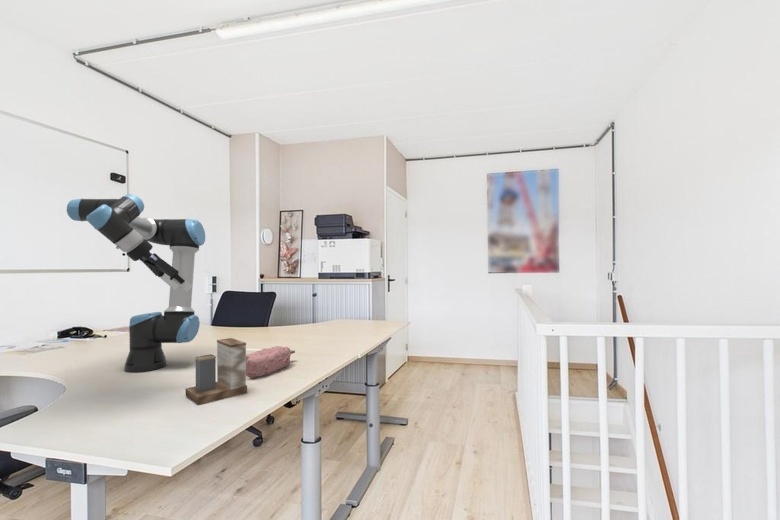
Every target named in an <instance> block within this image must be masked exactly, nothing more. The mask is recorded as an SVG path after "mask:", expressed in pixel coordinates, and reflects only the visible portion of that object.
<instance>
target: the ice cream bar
mask: <svg viewBox="0 0 780 520" xmlns="http://www.w3.org/2000/svg"><path fill="white" fill-rule="evenodd" d="M295 353H296V350H291V349H290V347H287V346H277V345H276V346H271V347H269V348H262V349H261V350H257V351H254V352H251V353H246V377H248V378H250V379H256V378H258V377H261V376H264V375H267V376H268V375H269V374H270V373H272V374H273V373H275V372H277V371H278V370H280V369H282V368H285V367H288V365H290V363H291V355H292V354H295Z"/></svg>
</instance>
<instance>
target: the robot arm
mask: <svg viewBox="0 0 780 520" xmlns="http://www.w3.org/2000/svg"><path fill="white" fill-rule="evenodd" d="M144 210H145V203H144V201H143V200H142V199H141V198H140V197H139V196H137V195H135V194H132V193H131V194H129V193H128V194H125V195H123V196H121V197H120V198H76V199H74V198H73V199H72V200H69V201H68V203H67V205H66V213H67V216H68V217H69V218H70V219H71V220H72V221H76V222H88V223H89V224H90V226H92V228H93V229H94V230H96V231H98V232H99V233H100V234H101V235H103V236H104V237H105V238H106V239H108V240H109V241H110V242H111V243H112V244H113V245H115V246H116V247H115V249H116V250H118V249H120V251H122V252H123V253H126V256H128V257H129V259H131V260H132V261H134V262H137V261H141V262H142V263H143V264H144V265H145V266H146V267H147V268H148V269H149V271H151V272H152V274H154V275H155V277H158V278H160V280H162V281H163V282H164V283H166V284H167V286H169V296H168V297H169V298H168V307H167V308H166V309H165V310H164V311H163V314H162V312H161V311H156V312H148V313H141V314H136V315H133V316H131V317H130V319H129V326H128V328H129V329H128V331H129V332H128V333H129V352H128V355H127V357H126V360H125V364H124V371H125V372H128V373H141V372H142V373H144V372H150V371H155V370H159V369H163V368H164V367H167V359H166V356H165V353H164V349H163V348H162V347H163V346H162V344H182V343H190V342H192V341H193V340H194V339H195V338H196V336H197V335H198V333H199V329H200V323H201V322H200V318H199V316H198V315H197V314H195V312H196V311H195V310H194V309H193V308H192V300H193V287H194V286H193V285H194V269H195V259H196V258H195V256H196V254H197V252H198V251H200V246H203V245H204V244H205V242H206V231H205V228H204V227H203V224H202V222H200V220H198V219H190V218H184V219H183V218H181V219H179V218H177V219H174V218H173V219H172V218H171V219H170V218H168V219H167V218H164V219H163V218H161V219H159V218H158V219H155V218H154V219H153V218H151V217H150V218H149V217H140V216H141V214H142V213H143V211H144ZM152 244H156V245H160V246H169V249H170V250H171V252H172V261H171V264H169V263H168V262H166V260H164V259H162V258H161V257H160V256H159V255H157V253H155V252H154V253H152V252H150V251H152V249H153V246H154V245H152Z"/></svg>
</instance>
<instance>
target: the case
mask: <svg viewBox="0 0 780 520" xmlns="http://www.w3.org/2000/svg"><path fill="white" fill-rule="evenodd" d="M194 359H195V386H196V390H197V391H198V392H200V393H201V392H205V391H209V390H214V389H216V382H217V380H216V377H217V376H216V375H217V373H216V371H217V370H216V369H217V368H216V367H217V362H216V360H217V355H215V354H211V353H210V354H204V355H198V356H195V357H194Z"/></svg>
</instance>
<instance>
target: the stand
mask: <svg viewBox="0 0 780 520" xmlns="http://www.w3.org/2000/svg"><path fill="white" fill-rule="evenodd" d="M246 347H247V342H245V341H243V340H239V339H236V338H234V337H228V338H221V339H217V340H216V348H217V349H216V350H217V351H216V360H217V362H216V367H217V368H216V369H217V370H216V371H217V373H216V375H217V376H216V377H217V380H216V389H214V390H209V391H205V392H201V393H200V392H198V391H197V390H196V385H195V386H190V387H185V389H184V390H185V394H184V395H186V396H187V397H186V396H185V397H186V398H187V399H188V400H190V399H191V400H190V401H192V402H193V403H194V402H195V404H196V405H198V406H199V405H201V406H202V405H205V404H208V403H213V402H216V401H220V399H221V400H224V398H225V399H228V397H229V398H232V396H233V397H236V395H237V396H240V394H241V395H244V394H247V393H248V385H247V375H246V354H247V353H246V352H247V348H246Z"/></svg>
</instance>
